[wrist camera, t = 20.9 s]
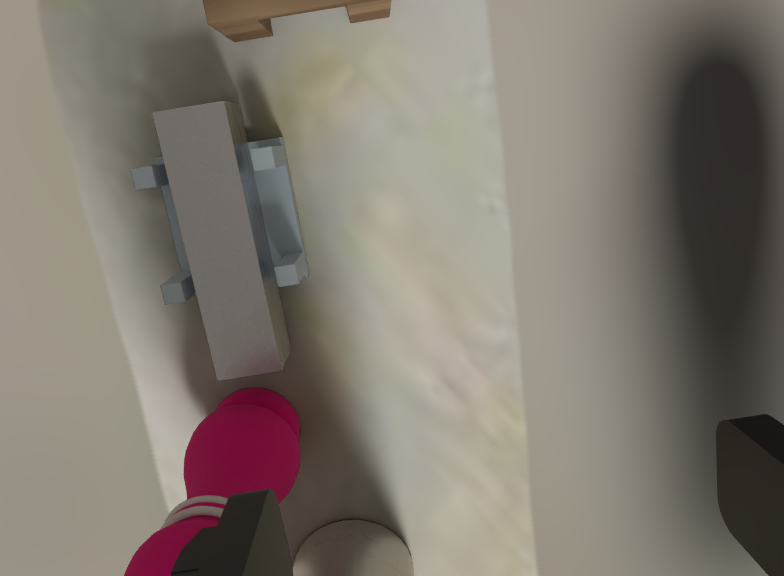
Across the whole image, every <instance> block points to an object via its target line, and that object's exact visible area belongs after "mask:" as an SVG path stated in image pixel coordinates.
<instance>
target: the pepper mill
mask: <svg viewBox="0 0 784 576" xmlns="http://www.w3.org/2000/svg"><path fill="white" fill-rule="evenodd" d="M299 437H300V422H299V419H298V416H297V413H296V411H295V410H294V408H293V407H292V406H291V404H290V403H289V402H288V401H287V400H286V399H284V398H283V397H282V396H280V395H279V394H277V393H275V392H273V391H270V390H267V389H261V388H247V389H243V390H239V391H236V392H234V393H232V394H231V395H229V396H227V397H226V398H225V399H224V400H223V401H222V402H221V403H220V405H219V406H218V407H217V409H216V411H215V412H214V413H212V414H210V415H209V416H208V417H206V418H205V419H204V420H203V421H202V422H201V423H200V424H199V425H198V427H197V428H196V430H195V431H194V433H193V435H192V437H191V440H190V442H189V444H188V447H187V450H186V453H185V459H184V480H185V485H186V491H187V500H186V501H184V502H182V503H180V504H179V505H178V506H176V507H175V508H174V509H173V510H172V511H171V512H170V514H169V515H168V517H167V518H166V520H165V523H164V525H163V526H162V527H161V529H160V530H159V531H157V532H156V533H154V534H153V535H152V536H151V537H150V538H149V539H148V540H146V541H145V542H144V543H143V544H142V545H141V546H140V547H139V549H138V550H137V551H136V553H135V554H134V556H133V558H132V560H131V561H130V563H129V565H128V567H127V570H126V572H125V575H124V576H171V571H172V568H173V566H174V564H175V562H176V560H177V558H178V556H179V554H180V551H181V549H182V548H183V547H184V546H185V545H186V544H187V543H188V542H189V541H190V540H191V539H192V538H193V537H194V536H195V535H196V534H197V533H198V532H199V531H200V530H201V529H202V528H206V527H213V526H217V524H218V522H219V520H220V517H221V515H222V512H223V510H224V507H225V505H226V502H227V500H228V498H229V496H230V495H232V494H238V493H245V492H251V491H258V490H264V489H273V490H274V492H275V494H276V496H277V500H278V504H279V503H280V502H281V501H282V500H283V499H284V498H285V497H286V496H287V494H288V493H289V491H290V490H291V488H292V486H293V484H294V482H295V479H296V477H297V474H298V471H299V467H300V448H299V444H298V441H299Z"/></svg>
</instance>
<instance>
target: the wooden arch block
mask: <svg viewBox="0 0 784 576" xmlns="http://www.w3.org/2000/svg"><path fill="white" fill-rule="evenodd" d="M203 3H204V8H205V12H206V17H207V22H208V24H209V25H210V26H212V27H213V28H214V29H216V30H217V31H219V32H220V33H222V34H223V35H225V36H226V37H228V38H229V39H231V40H232V41H234V42H238V41H244V40H250V39H257V38H263V37H269V36H273V33H272V27H271V22H270V18H275V17H281V16H287V15H293V14H300V13H306V12H312V11H318V10H324V9H330V8H336V7H343V6H347V9H348V14H349V18H350V23H355V22H361V21H367V20H374V19H380V18H386V17H389V16H390V7H391V0H203Z"/></svg>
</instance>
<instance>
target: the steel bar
mask: <svg viewBox="0 0 784 576" xmlns="http://www.w3.org/2000/svg"><path fill="white" fill-rule="evenodd" d="M152 115H153V119H154V123H155V127H156V131H157V135H158V139H159V143H160V148H161V152H162V156H163V160H164V164H165V168H166V172H167V176H168V180H169V184H170V189H171V193H172V197H173V201H174V205H175V209H176V213H177V217H178V221H179V225H180V230H181V234H182V238H183V242H184V246H185V250H186V254H187V258H188V262H189V266H190V270H191V275H192V279H193V283H194V287H195V291H196V295H197V299H198V303H199V307H200V311H201V316H202V320H203V324H204V328H205V332H206V336H207V340H208V344H209V348H210V352H211V357H212V361H213V365H214V369H215V373H216V377H217V381H221V380H228V379H234V378H240V377H247V376H253V375H260V374H266V373H272V372H279V371H282V369H283V367H284V365H285V362H286V360H287V357H288V355H289V352H290V350H291V347H290V342H289V338H288V333H287V328H286V323H285V318H284V314H283V309H282V304H281V299H280V295H279V290H278V285H277V280H276V275H275V271H274V266H273V261H272V256H271V251H270V247H269V242H268V237H267V232H266V227H265V223H264V218H263V213H262V208H261V204H260V199H259V194H258V189H257V184H256V180H255V175H254V170H253V165H252V160H251V156H250V151H249V146H248V141H247V137H246V132H245V127H244V122H243V117H242V113H241V108H240V104H236V103H232V102H228V101H218V102H212V103H206V104H199V105H193V106H187V107H181V108H175V109H169V110H162V111H156V112H152Z"/></svg>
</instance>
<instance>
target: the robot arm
mask: <svg viewBox="0 0 784 576" xmlns="http://www.w3.org/2000/svg"><path fill="white" fill-rule="evenodd" d="M716 454H717V494H718V504H719V508H720V512H721V515H722V517H723V520H724V522H725V524H726V526H727V527H728V529H729V531H730V532H731V534H732V535H733V536H734V537H735V539H736V540H737V541H738V542H739V543H740V544H741V545H742V546H743V547H744V549H745V550H746V551H747V552H748V553H749V554H750V555H751V556H752V558H753V559H754V560H755V561H756V562H757V563H758V564H759V565H760V566H761V568H762V569H763V570H764V571H765V572H766V573H767V574H768V575H769V576H784V425H783V424H782V423H780V422H779V421H777V420H776V419H774V418H773V417H771V416H770V415H767V414H761V415H754V416H748V417H741V418H735V419H729V420H723V421H721V422H719V424H718V426H717V430H716ZM171 576H414V569H413V563H412V558H411V556H410V553H409V551H408V548H407V547H406V546H405V544H404V543H403V542H402V540H401V539H400V538H399V537H398V536H396V535H395V534H394V533H393V532H392V531H390V530H388V529H387V528H385V527H383V526H381V525H378V524H375V523H372V522H369V521H362V520H343V521H339V522H335V523H331V524H329V525H326V526H324V527H322V528H320V529H318V530H317V531H316V532H314V533H313V534H312V535H310V536H309V537H308V538H307V539H306V541H305V542H304V543H303V544H302V545H301V547H300V549H299V551H298V553H297V554H296V557H295V561H294V565H293V567H292V561H291V556H290V552H289V548H288V543H287V539H286V534H285V530H284V526H283V521H282V517H281V513H280V508H279V504H278V500H277V496H276V494H275V492H274V490H273V489H264V490H258V491H251V492H245V493H238V494H232V495H230V496H229V498H228V500H227V502H226V505H225V507H224V510H223V512H222V515H221V517H220V520H219V522H218V524H217V526H213V527H206V528H202V529H201V530H200V531H199V532H198V533H197V534H196V535H195V536H194V537H193V538H192V539H191V540H190V541H189V542H188V543H187V544H186V545H185V546H184V547H183V548H182V549H181V551H180V554H179V556H178V558H177V560H176V562H175V564H174V566H173V568H172V571H171Z"/></svg>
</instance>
